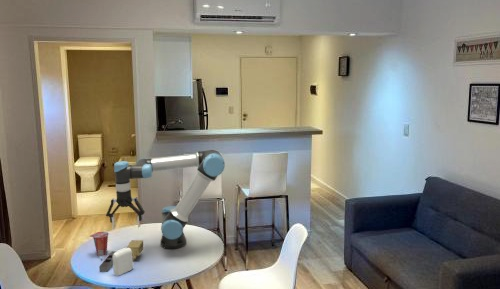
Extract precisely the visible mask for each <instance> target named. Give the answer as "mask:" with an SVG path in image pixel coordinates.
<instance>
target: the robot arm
mask: <svg viewBox="0 0 500 289" xmlns="http://www.w3.org/2000/svg"><path fill="white" fill-rule="evenodd" d="M225 163H226V162H225V159H224V158H223V156H222V155H221V153H220V152H219V151H218V150H215V149H208V150H201V151H196V153H188V154H180V155H171V156H163V157H162V156H161V157H153V158H146V157H142V158H141V157H140V159H138V160H137V162H136V163H135V164H130V163H129V162H128V161H126V160H120V161H117V162H115V163H114V165H113V166H114V167H113V168H114V169H113V171H114V179H115V191H116V192H115V193H116V199H115V198H112V199H110V205H109V207H108V210H107V212H106V214H105V216H106V217H108V218H109V223H111V225H112V226H111V227H112V229H113V230H115V228H116V219H115V215H114V214H115V213H116V212H117V211H118V210H119V208H120V207H121V208H127V207H129V208H130V209H131V210H132V211H133V212H134V213H135V214H137V215H136V217H137V228H140V227H141V222H142V218H143V216H142V215H144V214H145V210H144V208H143V207H142V204H140V202H139V198H138V197H132V190H131V180H137V179H139V180H140V179H149V178H152V177H153V172H159V171H170V170H177V169H179V170H180V169H187V168H188V169H189V168H195V167H196V168H197V169H196V171H197V174H196V176H195V177H194V178H193V179H192V181H191V183H190V184H189V186H188V188H187V189H186V191H185V192H184V194H183V195H182V197H181V198H180V200H179V201H178V203H177V204H176V205H169V206H164V207H163V208H162V209H161V215H162V216H161V217H162V219H161V220H162V221H161V227H160V230H161V234H162V235H161V238H160V247H161V248H163V249H167V250H175V249H181V248H183V247H184V246H186V245H187V237H186V236H185V233H184V228H185V227H186V225H187V223H188V222H189V216H190V214H191V213H192V211H193V210H194V208H195V206H196V205H197V203H198V202H199V200H200V198H201V197H202V196H203V194H204V192H205V191H206V189H207V188H208V186H209V184H210V183H211V182H214V181H216V179H217V177H219V176H221V174H222V173H223V172H224V170H225V166H226V165H225ZM133 202H134V204H135V205H134V204H133ZM116 203H117V206H116V207H115V208H114V210H113V211H112V209H113V207H114V204H116ZM111 211H112V212H111Z"/></svg>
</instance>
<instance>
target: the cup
mask: <svg viewBox="0 0 500 289" xmlns="http://www.w3.org/2000/svg"><path fill="white" fill-rule="evenodd" d="M89 237H91V238H92V239H93V242H94V247H95V252H96V256H97V257H105V256H106V255H107V252H108V240H109V239H108V238H109V232H107V231H98V232H94V233H92V234H91V235H89Z"/></svg>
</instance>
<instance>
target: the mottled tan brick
mask: <svg viewBox="0 0 500 289" xmlns="http://www.w3.org/2000/svg"><path fill="white" fill-rule="evenodd" d="M126 248H130V249H131V251H132V260H133V262H135V261H137V258H138V257H139V256H140V255H141V253H142V252H143V251H144V248H145V247H144V240H138V239H137V240H136V239H134V240H131V241H130V242H129V243H128V245H126Z"/></svg>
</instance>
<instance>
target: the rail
mask: <svg viewBox="0 0 500 289" xmlns="http://www.w3.org/2000/svg"><path fill="white" fill-rule="evenodd" d="M117 251H118V250H116V251H115V250H113V251H111V252H110V253H109V254H108V255H107V256H106V257H105V259H104V260H103V261H102V263H101V264H100V265H99V266H98V268H99V273H108V272H109V271H110V270H111V268H112V267H113V258H112V256H113V254H114V253H115V252H117Z"/></svg>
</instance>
